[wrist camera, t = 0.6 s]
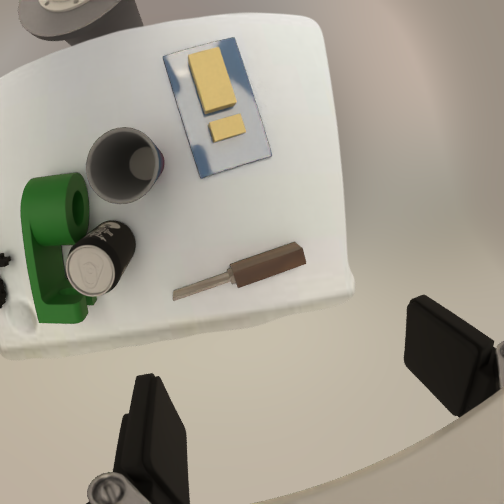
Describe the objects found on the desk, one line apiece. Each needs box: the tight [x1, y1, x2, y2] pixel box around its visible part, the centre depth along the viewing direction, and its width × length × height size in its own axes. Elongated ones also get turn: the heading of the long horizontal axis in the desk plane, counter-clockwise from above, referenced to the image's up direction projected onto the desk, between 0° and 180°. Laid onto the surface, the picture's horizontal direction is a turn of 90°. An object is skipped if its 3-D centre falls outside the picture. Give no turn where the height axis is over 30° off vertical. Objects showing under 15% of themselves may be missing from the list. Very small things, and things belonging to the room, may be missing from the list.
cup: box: [86, 127, 164, 204], centre depth 32 cm, size 7×7×15 cm
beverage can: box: [66, 221, 136, 297], centre depth 35 cm, size 7×7×12 cm
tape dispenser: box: [21, 173, 97, 324], centre depth 35 cm, size 18×9×6 cm
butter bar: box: [188, 47, 237, 114], centre depth 35 cm, size 8×4×3 cm, turn 17°
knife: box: [173, 242, 306, 301], centre depth 44 cm, size 2×19×4 cm, turn 107°
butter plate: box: [163, 37, 272, 178], centre depth 38 cm, size 18×10×1 cm, turn 17°
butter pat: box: [208, 114, 246, 142], centre depth 38 cm, size 2×4×3 cm, turn 107°
